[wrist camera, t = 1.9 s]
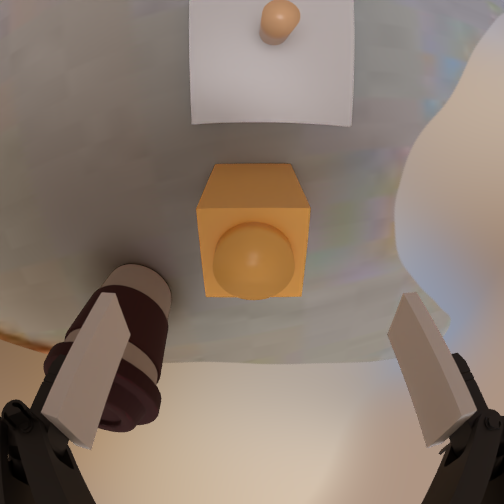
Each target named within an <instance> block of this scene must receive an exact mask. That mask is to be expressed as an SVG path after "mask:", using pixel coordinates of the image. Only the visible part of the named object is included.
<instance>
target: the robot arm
mask: <svg viewBox="0 0 504 504" xmlns="http://www.w3.org/2000/svg"><path fill="white" fill-rule="evenodd" d="M387 335H388V337H389V340H390V342H391V345H392V347H393V350H394V353H395V355H396V358H397V360H398V363H399V365H400V368H401V371H402V374H403V376H404V379H405V382H406V384H407V387H408V390H409V393H410V396H411V399H412V402H413V405H414V408H415V410H416V414H417V417H418V420H419V423H420V426H421V429H422V433H423V436H424V440H425V443H426V446H427V448H429V447H432V446H435V445H439V444H442V443H443V442H444V441H445V440H446V439H447V438H449V439H450V443H449V444H448V445H446V446H445V447H444V448H443V449H442V450H441V451H440V452H439V454H440V455H441V454H442V453H443V452H444V451H445V454H444V456H443V459H442V461H441V464H440V466H439V468H438V471H437V473H436V475H435V477H434V479H433V481H432V484H431V486H430V488H429V490H428V492H427V494H426V496H425V498H424V500H423V502H422V503H421V504H504V416H500V414H499V413H498V412H496V411H495V410H491V409H488V407H487V405H486V403H485V401H484V398H483V396H482V394H481V392H480V390H479V387H478V385H477V383H476V381H475V380H474V377H473V375H472V373H471V372H470V369H469V367H468V365H467V363H466V361H465V360H464V359H463V358H462V357H461V356H460V355H459V354H458V353H455V354H451V353H450V351H449V349H448V347H447V345H446V343H445V341H444V339H443V337H442V336H441V334H440V332H439V330H438V328H437V326H436V325H435V323H434V321H433V319H432V318H431V316H430V314H429V312H428V311H427V309H426V307H425V305H424V304H423V302H422V300H421V299H420V297H419V295H418V294H417V292H414V293H403V295H402V298H401V301H400V304H399V306H398V309H397V312H396V314H395V317H394V319H393V322H392V324H391V327H390V329H389V332H388V334H387ZM129 338H130V332H129V329H128V327H127V324H126V322H125V319H124V316H123V313H122V311H121V308H120V305H119V302H118V299H117V296H116V293H103V292H101V294H100V296H99V298H98V299H97V301H96V303H95V304H94V306H93V308H92V310H91V311H90V313H89V315H88V317H87V319H86V320H85V322H84V324H83V326H82V328H81V329H80V331H79V333H78V335H77V337H76V339H75V341H74V343H73V345H72V347H71V348H70V350H69V352H68V354H67V356H66V355H61V354H60V355H59V356H58V357H57V358H56V359H55V360H54V361H53V362H52V364H51V366H50V368H49V370H48V372H47V374H46V376H45V378H44V382H42V384H41V386H40V388H39V391H38V393H37V395H36V397H35V399H34V401H33V404H32V406H31V408H30V409H29V408H28V407H27V406H26V405H25V404H24V403H23V402H22V401H20V400H12V401H10V402H8V403H7V404H6V405H5V407H4V408H3V411H2V418H1V417H0V504H96V503H95V501H94V499H93V497H92V495H91V493H90V491H89V490H88V487H87V485H86V483H85V481H84V479H83V477H82V475H81V473H80V471H79V468H78V466H77V464H76V461H75V459H74V457H73V454H72V452H71V450H70V448H69V446H68V445H67V444H68V441H69V440H70V441H71V442H73V443H74V444H75V445H77V446H80V447H83V448H86V449H90V450H91V448H92V445H93V441H94V438H95V435H96V432H97V428H98V425H99V422H100V419H101V416H102V413H103V409H104V406H105V403H106V400H107V397H108V395H109V392H110V389H111V386H112V383H113V380H114V377H115V375H116V372H117V369H118V366H119V364H120V361H121V358H122V356H123V353H124V350H125V348H126V345H127V343H128V340H129Z"/></svg>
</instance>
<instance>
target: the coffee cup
mask: <svg viewBox="0 0 504 504" xmlns="http://www.w3.org/2000/svg"><path fill="white" fill-rule="evenodd" d="M101 292H103V293H116V296H117V299H118V302H119V305H120V308H121V311H122V313H123V316H124V319H125V322H126V324H127V327H128V329H129V332H130V338H129V340H128V343H127V345H126V348H125V350H124V353H123V356H122V358H121V361H120V364H119V366H118V369H117V372H116V375H115V377H114V380H113V383H112V386H111V389H110V392H109V395H108V397H107V400H106V403H105V406H104V409H103V413H102V416H101V419H100V422H99V425H98V428H100V429H104V430H108V431H113V432H128V431H131V430H132V429H134V428H135V427H136V425H144V424H148V423H150V422H152V421H154V420H155V419H156V418H157V416H158V413H159V409H160V404H161V394H160V392H159V390H158V388H157V386H156V384H157V383H158V381H159V379H160V375H161V369H162V362H163V356H164V350H165V344H166V339H167V333H168V322H167V321H168V316H169V311H170V306H171V292H170V289H169V287H168V285H167V283H166V282H165V281H164V280H163V278H162V277H161V276H160V275H158V274H157V273H156V272H155V271H153V270H151V269H149V268H147V267H144V266H141V265H135V264H128V265H123V266H120V267H118V268H116V269H115V270H114V271H113V272H112V273H111V274H110V275H109V277H108V278H107V279H106V281H105V282H104V284H103V285H102V286H101V288H100V289H98V290H97V291H96V292H95V293H94V294H93V295H92V296H91V298H90V299H89V301H88V302H87V304H86V305H85V306H84V308H83V309H82V311H81V312H80V314H79V315H78V316H77V318H76V319H75V321H74V322H73V324H72V325H71V327H70V328H69V330H68V331H67V333H66V336H65V341H64V342H61V343H58V344H56V345H55V346H53V347H52V349H51V350H50V352H49V354H48V356H47V358H46V360H45V361H44V372H45V375H46V374H47V372H48V370H49V368H50V366H51V364H52V362H53V361H54V360H55V359H56V358H57V357H58V356H59V355H60V354H61V355H66V356H67V354H68V352H69V350H70V348H71V347H72V345H73V343H74V341H75V339H76V337H77V335H78V333H79V331H80V329H81V328H82V326H83V324H84V322H85V320H86V319H87V317H88V315H89V313H90V311H91V310H92V308H93V306H94V304H95V303H96V301H97V299H98V298H99V296H100V294H101Z"/></svg>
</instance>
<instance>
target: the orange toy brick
mask: <svg viewBox="0 0 504 504" xmlns="http://www.w3.org/2000/svg"><path fill="white" fill-rule="evenodd" d="M310 210H311V208H310V206H309V203H308V201H307V199H306V197H305V194H304V192H303V190H302V188H301V186H300V183H299V181H298V179H297V177H296V175H295V173H294V170H293V168H292V166H291V164H273V163H245V164H215V166H214V168H213V170H212V173H211V175H210V177H209V179H208V182H207V184H206V186H205V189H204V191H203V194H202V196H201V198H200V201H199V203H198V206H197V208H196V212H197V223H198V233H199V242H200V251H201V260H202V269H203V277H204V285H205V293H206V297H238V298H241V299H246V300H261V299H266V298H269V297H300V296H301V295H302V287H303V278H304V270H305V261H306V251H307V242H308V232H309V221H310Z"/></svg>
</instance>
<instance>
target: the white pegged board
mask: <svg viewBox="0 0 504 504" xmlns="http://www.w3.org/2000/svg"><path fill="white" fill-rule="evenodd" d="M189 60H190V94H191V117H192V124H207V123H233V122H281V123H306V124H323V125H336V126H347V127H351V124H352V108H353V87H354V0H189Z"/></svg>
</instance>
